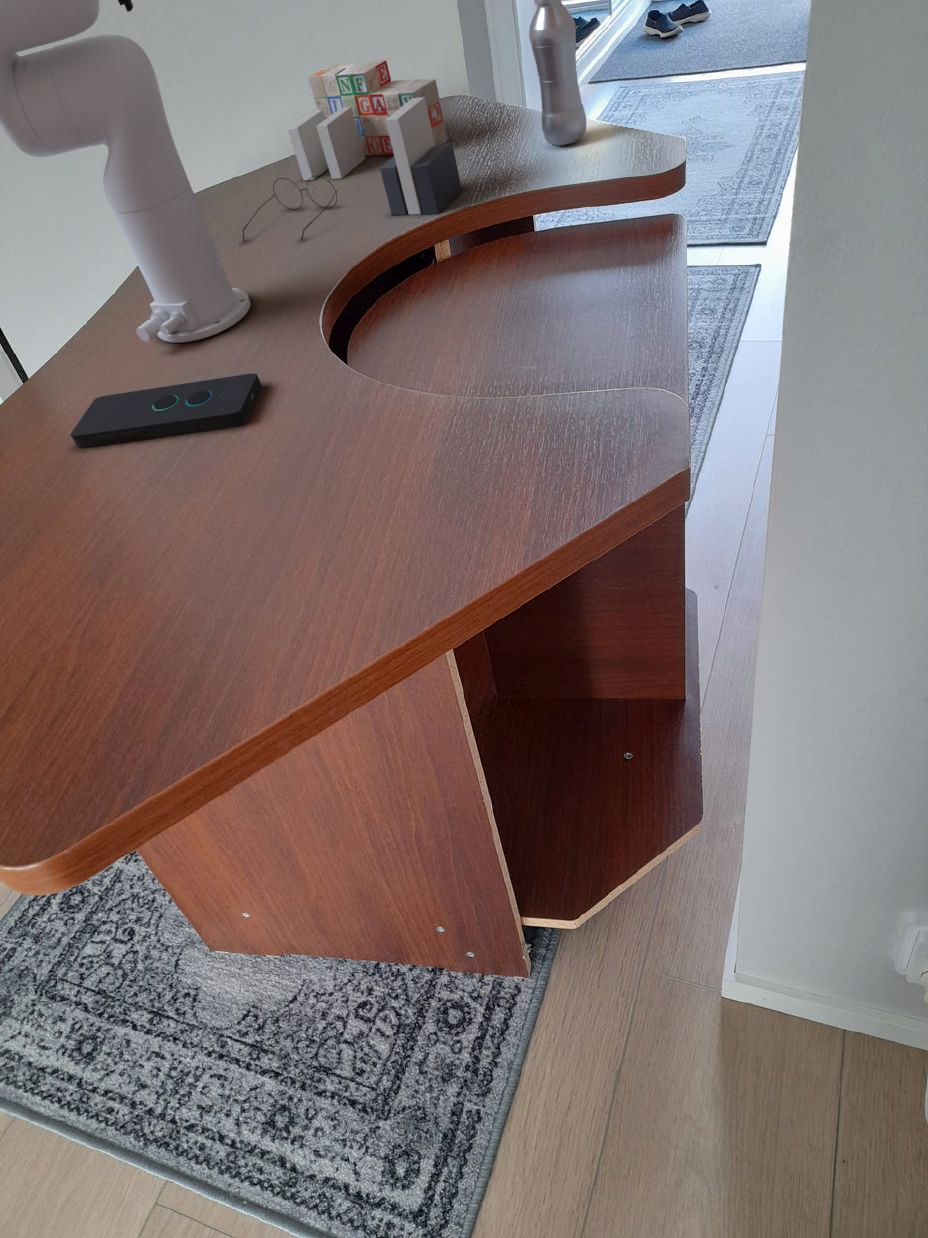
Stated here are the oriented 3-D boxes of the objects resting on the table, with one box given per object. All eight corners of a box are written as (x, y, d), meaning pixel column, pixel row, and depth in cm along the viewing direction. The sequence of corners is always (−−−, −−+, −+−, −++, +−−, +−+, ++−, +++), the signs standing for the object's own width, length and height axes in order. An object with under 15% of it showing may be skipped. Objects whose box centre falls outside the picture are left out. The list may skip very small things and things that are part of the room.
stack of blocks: (449, 141, 147) (431, 55, 138) (427, 156, 144) (407, 70, 135) (352, 141, 158) (330, 62, 150) (329, 155, 155) (306, 75, 146)
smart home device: (238, 411, 93) (67, 436, 97) (244, 425, 94) (75, 449, 98) (258, 370, 99) (95, 395, 103) (263, 383, 100) (102, 408, 104)
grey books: (438, 213, 125) (427, 164, 121) (391, 215, 128) (379, 167, 124) (461, 189, 130) (452, 141, 125) (416, 191, 133) (405, 145, 129)
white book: (420, 214, 126) (398, 118, 118) (408, 214, 127) (385, 119, 119) (444, 190, 131) (424, 96, 123) (432, 191, 132) (412, 97, 123)
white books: (342, 178, 145) (326, 124, 139) (303, 180, 148) (287, 128, 142) (365, 158, 149) (351, 106, 144) (327, 161, 153) (312, 110, 147)
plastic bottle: (576, 150, 131) (557, -11, 118) (536, 150, 135) (513, -6, 121) (596, 133, 135) (580, -26, 121) (556, 134, 138) (537, -20, 125)
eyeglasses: (307, 240, 128) (295, 204, 125) (238, 242, 133) (225, 208, 130) (345, 207, 135) (335, 172, 131) (278, 210, 140) (266, 176, 137)
